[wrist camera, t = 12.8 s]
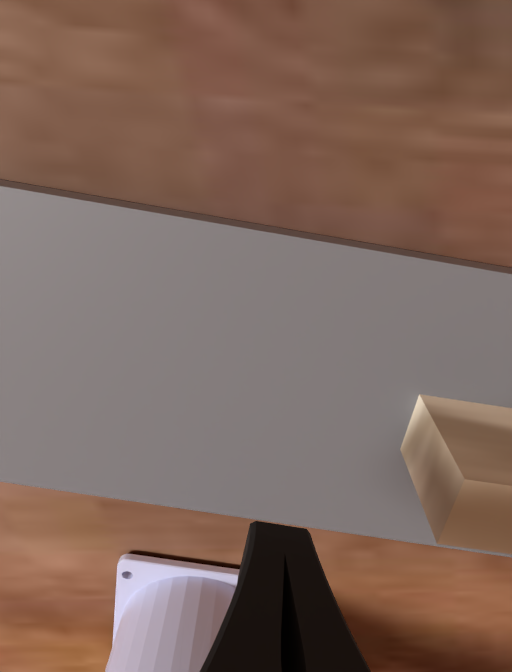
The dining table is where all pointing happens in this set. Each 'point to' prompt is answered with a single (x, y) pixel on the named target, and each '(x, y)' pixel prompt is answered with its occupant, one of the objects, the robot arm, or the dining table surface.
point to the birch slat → (462, 471)
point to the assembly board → (232, 360)
